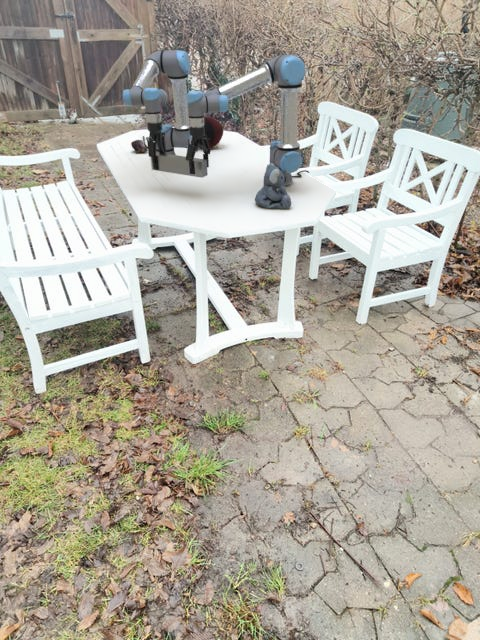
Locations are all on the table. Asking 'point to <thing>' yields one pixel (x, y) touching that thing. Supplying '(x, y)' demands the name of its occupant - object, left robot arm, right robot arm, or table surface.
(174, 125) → the left robot arm
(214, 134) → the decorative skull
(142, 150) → the rock
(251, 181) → the table surface
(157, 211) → the table surface
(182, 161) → the bar
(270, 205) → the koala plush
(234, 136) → the table surface
